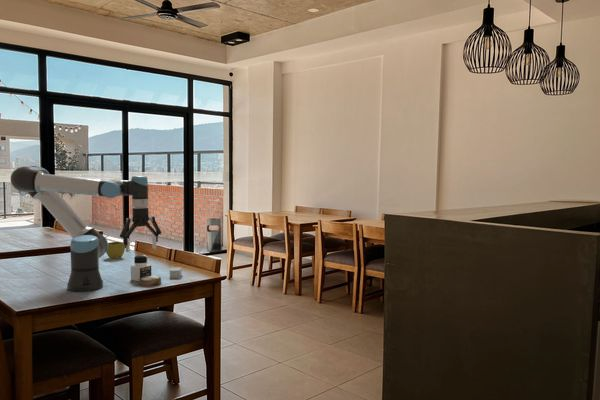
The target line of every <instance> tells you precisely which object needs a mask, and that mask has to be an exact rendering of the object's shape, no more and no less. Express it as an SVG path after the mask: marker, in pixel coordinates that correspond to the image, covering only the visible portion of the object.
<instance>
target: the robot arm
mask: <svg viewBox="0 0 600 400" xmlns="http://www.w3.org/2000/svg"><path fill="white" fill-rule="evenodd" d="M148 181H149V179H148V177H147V176H145V175H134V176H131V179H128V180H125V179H111V180H110V179H109V180H105V179H103V180H102V179H95V178H86V177H75V176H68V175H57V174H50V172H49V171H48V170H47V169H45V168H43V167H42V166H37V165H31V166H20V167H19V166H18V168H15V169H14V170H13V171H12V173H11V174H10V183H11V185H12V188H14V189H15V190H17V191H18V192H22V193H27V194H29V196H30V197H31V198H32V199H33V200H38V201H39V202H40V203H41V204H42V206H44V208H46V210H47V211H48V212H49V213H50V214H51V215H52V217H54V219H55V220H56V221H57V222H58V223H59V225H60V226H62V228H63V229H64V230H65V231H66V232H67V234H69V236H70V237H71V240H70V245H69V248H70V249H69V250H70V275H69V277H68V282H67V284H66V286H67V287H66V288H67V289H66V290H68V291H70V292H89V291H95V290H98V289H102V288H103V287H104V280H103V278H102V276H101V272H100V268H99V267H100V263H99V262H100V261H99V260H100V258H102V256H104V255H105V254H106V251H107V249H108V243H109V242H108V240H107V237H105V235H103V234H101V233H99V232H98V231H97V230H96V229H95V228H94V227H92V226H88V225H87V224H86V223H85V221H84V220H82V218H81V217H80V216H79V215H78V213H76V212H75V211H76V210H74V209H73V208H72V206H71V205H69V203H68V202H67V201H66V200H65V199H64V197H63V196H61V193H66V194H76V195H84V196H85V195H87V196H95V197H103V198H107V199H115V198H117V197H121V196H122V197H123V196H131V205H132V206H131V207H132V218H129V217H126V218H125V223H124V225H123V228H122V230H121V232H120V234H119V237H120V238H121V239H123V243H124V245H125V252H126V253H130V251H131V250H130V249H131V248H130V238H129V237H130V236H131V235H132V233H133V232H134V230H135V229H136V228H137V227H139V228H141V227H146V228H147V229H148V230H149V231H150V232H151V233H152V234H153V235H152V242H151V243H152V249H154V250H157V242H159V240H158V239H159V235H161V234H162V230H161V229H160V227H159V225H158V223H157V221H156V217H155V216H153V215H151V216H150V215H149V208H148V207H149V183H148ZM149 221H150V222H151V223H149ZM131 223H132V224H131ZM130 224H131V226H130ZM151 224H152V226H153V227H152V226H151Z"/></svg>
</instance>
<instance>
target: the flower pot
mask: <svg viewBox="0 0 600 400" xmlns="http://www.w3.org/2000/svg"><path fill="white" fill-rule="evenodd" d="M125 252H126V246H125V245H124V241H123V242H121V241H110V242H108V249H107V251H106V252H105V254H106V255H107V256H108V258H110V259H118V258H122V257H123V255H124V253H125Z"/></svg>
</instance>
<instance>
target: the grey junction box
mask: <svg viewBox="0 0 600 400" xmlns="http://www.w3.org/2000/svg"><path fill="white" fill-rule="evenodd" d="M182 269H183V267H171V268H170V269H169V279H180V278H181V277H182Z"/></svg>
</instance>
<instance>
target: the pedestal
mask: <svg viewBox="0 0 600 400" xmlns="http://www.w3.org/2000/svg"><path fill="white" fill-rule="evenodd" d="M138 283H139V285H140V287H141V286H142V287H154V286H155V287H156V286H159V285H161V284H162V277H161V276H158V275H151V276H146V277H141V278H140V279H139V281H138Z"/></svg>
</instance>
